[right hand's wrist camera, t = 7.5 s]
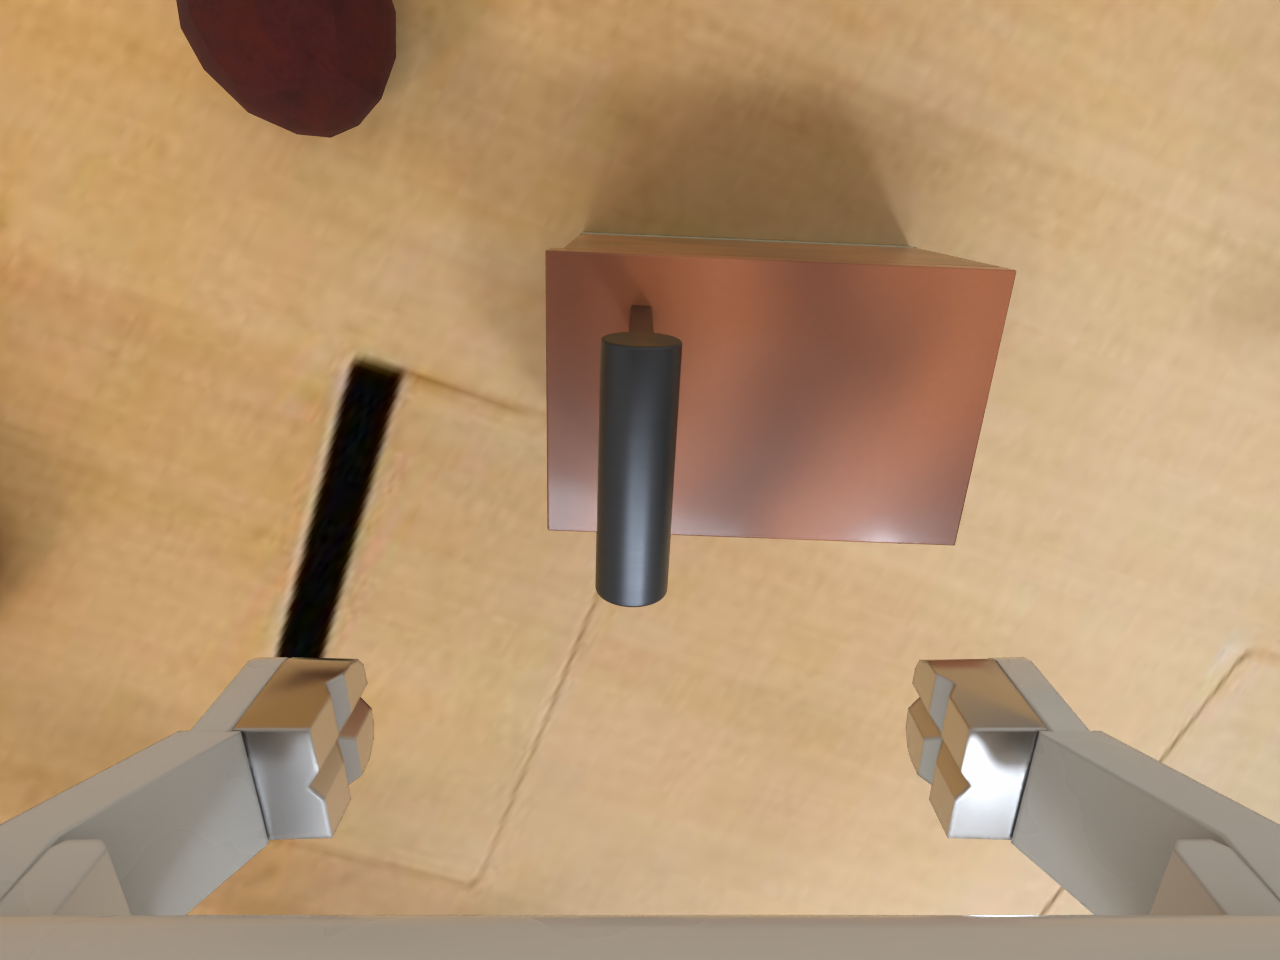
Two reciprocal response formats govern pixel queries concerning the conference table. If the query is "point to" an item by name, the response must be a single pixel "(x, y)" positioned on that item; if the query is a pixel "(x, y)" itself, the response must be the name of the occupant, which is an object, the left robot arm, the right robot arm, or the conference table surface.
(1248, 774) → the conference table surface
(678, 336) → the lid
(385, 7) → the potato
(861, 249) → the chest
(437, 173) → the conference table surface
